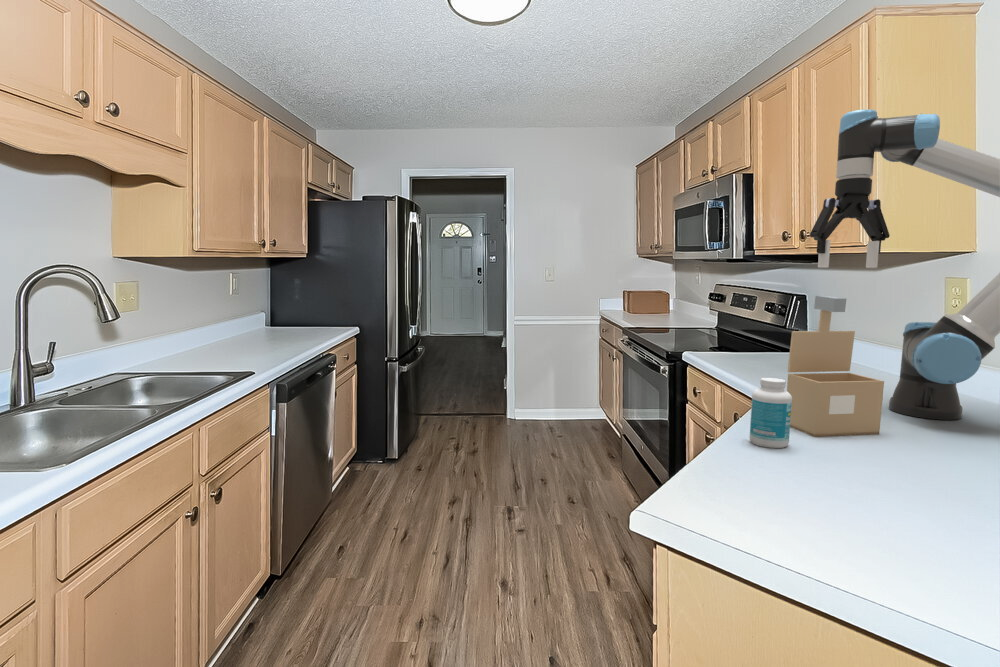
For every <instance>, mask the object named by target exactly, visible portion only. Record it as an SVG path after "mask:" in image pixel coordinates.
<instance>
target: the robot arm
mask: <svg viewBox="0 0 1000 667" xmlns="http://www.w3.org/2000/svg"><path fill="white" fill-rule="evenodd" d="M940 128H941V120H940V116H939V115H938V114H937V113H929V114H928V113H927V114H926V113H925V114H923V113H919V114H914V115H904V116H903V115H902V116H896V117H893V116H892V117H883V118H882V117H880V118H879V117H878V112H877V111H876V110H874V109H857V110H852V111H848V112H846V113H845V114H843V115H842V116H841V118H840V122H839V130H838V139H837V140H838V143H837V161H836V175H835V177H836V179H838V180H836V181H835V188H834V190H835V191H834V195H835V196H836V198H835V197H830V198H825V199H824V200H823V205H822V209H821V211H820V213H819V215H818V217H817V218H816V221H815V222H814V225H813V227H812V229H811V230H810V233H809V237H810V238H813V240H814V241H817V242H816V254H818V256H817V257H818V262H817V268H818V269H819V268H829V267H830V266H829V265H830V255H831V254H830V251H831V239H828V238H830V236H831V234H832V233H833V232H834V231H835V230H836V229H837V227H838V226H839V225H840V224H841V222H842V221H843V220H845V219H855V220H857V221H859V224H860V225H861V227H862V228H863V230H864V232H865V233H866V234H867V236H868V237H869V239H870V241H867V244H866V245H867V248H866V259H865V260H866V261H865V268H867V269H878V264H879V255H880V254H881V250H882V248H881V247H882V241H886V239H889V238H890V232H889V228H888V227H887V223H886V221H885V220H886V219H885V217H884V214H883V212H882V205H881V203H882V202H881V200H880V199H879V198H878V199H877V198H876V199H871V200H870V199H869V196H870V195H871V194H872V187H873V179H872V178H871V177H873V174H874V161H875V159H874V158H875V153H876V152H877V153H880V156H882V158H883V159H884V160H885V161H887V162H890V163H891V162H893V163H901V164H905V165H908V166H911V167H915V168H918V169H920V170H922V171H925V172H929V173H932V174H935V175H937V176H940V177H942V178H945V179H948V180H951V181H952V182H953V181H954V182H957V183H958V184H962V185H964V186H968V187H971V188H973V189H976V190H978V191H981V192H984V193H987V194H989V195H992V196H995V197H998V198H1000V158H997V157H996V156H991V155H989V154H986V153H983V152H980V151H977V150H974V149H971V148H969V147H968V148H967V147H965V146H962V145H959V144H956V143H953V142H951V141H947V140H944V139H942V138H939V136H940ZM835 208H836V210H835ZM834 210H835V211H834ZM999 334H1000V272H998V274H997V275H995V276H994V277H993V278H992V279H991V280H990V281H989V282H988V283H987V284H986V285H985V286H984V287H983V288H982V289H981V290H980V291H979V292H978V293H977V294H976V295H974V296H973V298H972V299H971V300H969V301H968V302H967V303H966V304H965V305H964V306H963V307H962V308H961V309H960V310H959V311H958V312H956V313H953V314H951V313H950V314H944V315H943V316H942V317H941V318H940V319H939V320H938V321H936V322H930V321H928V322H927V321H917V322H915V321H913V322H908V323H907V324H905V326H904V331H903V333H902V336H903V340H902V341H903V342H902V350H901V351H902V353H901V360H900V372H899V380H898V383H897V385H896V386H895V388H894V391H893V393H892V396H891V397H890V398H889V403H888V409H889V410H890V411H892V412H895V413H898V414H902V415H905V416H910V417H916V418H923V419H930V420H941V421H945V420H946V421H947V420H948V421H949V420H950V421H952V420H953V421H954V420H961V418H963V406H962V405H961V402H960V398H959V397H960V396H959V393H958V388H957V384H959V383H962V382H965V381H967V380H969V379H970V378H972V377H973V376H974V375H975V374H976V373H977V371H979V369H980V367H981V364H982V361H983V360H984V358H986V357H987V356H988V355H989V354H990V353H991V352H992V351H993V350H994V349H995V348H996V343H995V339H996V337H997V336H998V335H999Z"/></svg>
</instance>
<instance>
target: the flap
mask: <svg viewBox="0 0 1000 667" xmlns="http://www.w3.org/2000/svg"><path fill="white" fill-rule="evenodd" d="M846 304H847V298H844V297H838V296H833V295H831V296H830V295H815V296H814V305H813V309H816V310H820V312H819V321H818V330H812V331H811V330H798V331H797V330H796V331H795V330H793V331H791V337H790V347H789V355H788V363H787V364H788V366H787V373H836V372H851V365H852V357H853V349H854V343H855V342H854V341H855V335H856V334H855V333H856V331H855V330H830V328H831V322H832V321H831V320H832V313H846Z"/></svg>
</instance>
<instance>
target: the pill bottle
mask: <svg viewBox="0 0 1000 667" xmlns="http://www.w3.org/2000/svg"><path fill="white" fill-rule="evenodd" d="M786 381H787V380H785V379H781V378H775V377H761V378H760V381H759V382H760V383H759V384H760V386H761V387H760V388H756V389H755V390H753V392H752V394H751V406H750V407H751V408H750V410H751V411H750V424H749V425H750V426H749V440H750V442H751V443H752V444H754V445H757V446H760V447H762V448H763V447H764V448H770V449H771V448H772V449H782V448H786V447H788V445H789V443H790V432H791V430H790V428H791V427H790V420H791V406H792V396H791V395H790V393H788V392H787V390H785V387H787V385H786Z"/></svg>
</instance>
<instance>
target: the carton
mask: <svg viewBox="0 0 1000 667" xmlns="http://www.w3.org/2000/svg"><path fill="white" fill-rule="evenodd" d="M884 388H885V380H883V379H882V380H880V379H877V378H873V377H869V376H865V375H860V374H856V373H853V372H809V373H787V385H786V391H787V392H788V393H790V395H791V396H792V406H791V420H790V428H791V429H794V430H796V431H799V432H801V433H804V434H806V435H808V436H811V437H813V438H827V437H831V438H833V437H849V436H850V437H853V436H855V437H856V436H876V435H877V436H879V435H880V431H881V419H882V409H883V408H882V407H883V400H884Z"/></svg>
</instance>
